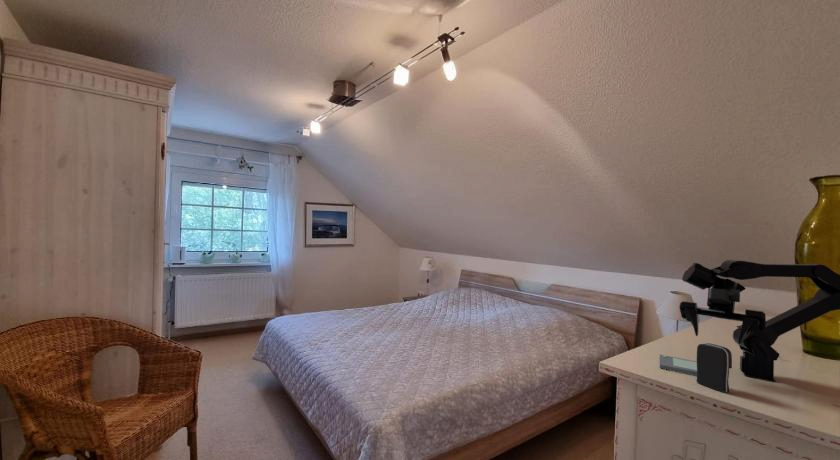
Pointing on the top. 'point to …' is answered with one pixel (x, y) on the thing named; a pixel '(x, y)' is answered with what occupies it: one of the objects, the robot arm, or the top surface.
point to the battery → (713, 366)
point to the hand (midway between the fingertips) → (717, 338)
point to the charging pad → (678, 365)
